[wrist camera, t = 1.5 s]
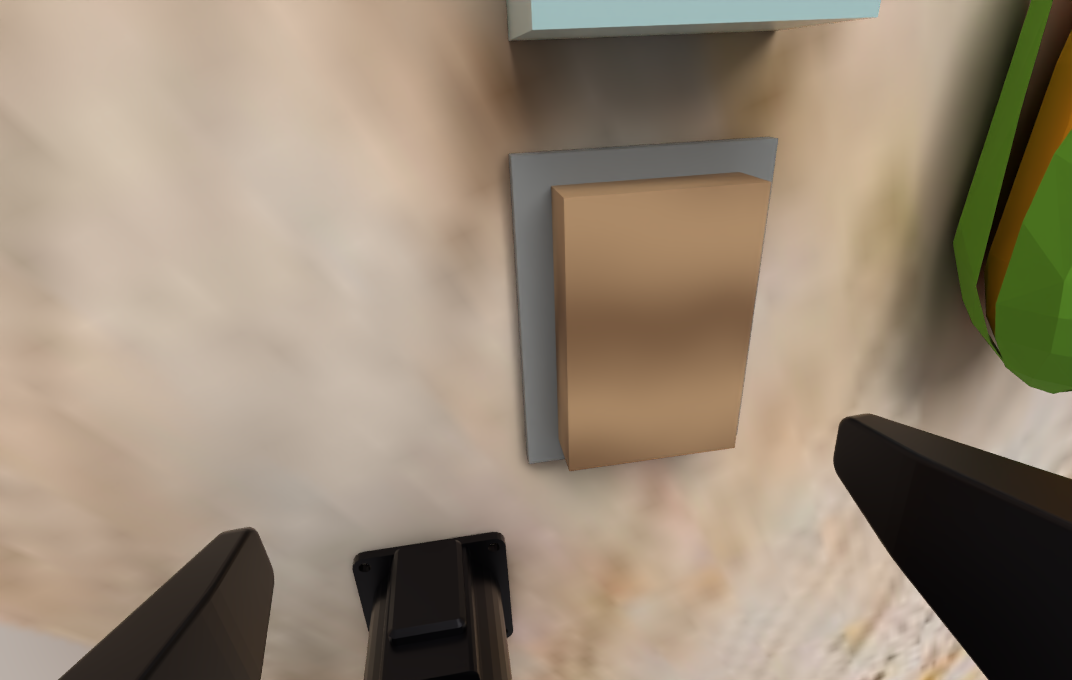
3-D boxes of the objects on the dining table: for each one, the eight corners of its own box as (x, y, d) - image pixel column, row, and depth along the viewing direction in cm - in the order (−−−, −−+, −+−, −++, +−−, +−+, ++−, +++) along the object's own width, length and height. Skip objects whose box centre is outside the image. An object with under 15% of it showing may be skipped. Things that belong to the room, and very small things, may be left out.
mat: (729, 427, 24) (736, 434, 24) (526, 454, 23) (529, 463, 23) (768, 136, 19) (778, 138, 19) (508, 153, 18) (511, 156, 17)
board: (711, 419, 23) (734, 447, 21) (558, 439, 22) (569, 471, 21) (739, 171, 19) (771, 181, 17) (551, 185, 18) (563, 198, 16)
